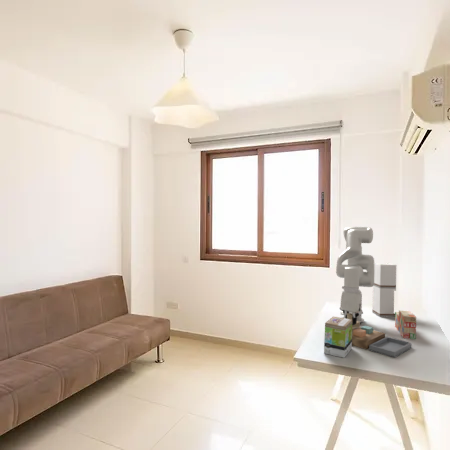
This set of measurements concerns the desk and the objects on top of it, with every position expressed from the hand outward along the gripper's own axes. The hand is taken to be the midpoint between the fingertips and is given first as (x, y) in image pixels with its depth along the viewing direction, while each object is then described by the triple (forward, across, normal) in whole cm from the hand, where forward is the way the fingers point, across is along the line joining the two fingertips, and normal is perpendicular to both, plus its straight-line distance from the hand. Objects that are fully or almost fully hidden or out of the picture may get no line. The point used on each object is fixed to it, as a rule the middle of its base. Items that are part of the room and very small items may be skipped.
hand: (350, 323), depth 182 cm
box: (+8, +21, 0) cm, 22 cm away
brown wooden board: (+8, +6, 0) cm, 10 cm away
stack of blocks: (+8, +15, +33) cm, 37 cm away
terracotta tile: (+4, +7, -4) cm, 9 cm away
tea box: (+8, +6, -23) cm, 25 cm away
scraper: (+3, 0, 0) cm, 3 cm away
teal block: (+4, +7, +4) cm, 9 cm away
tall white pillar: (+8, -10, +63) cm, 64 cm away
